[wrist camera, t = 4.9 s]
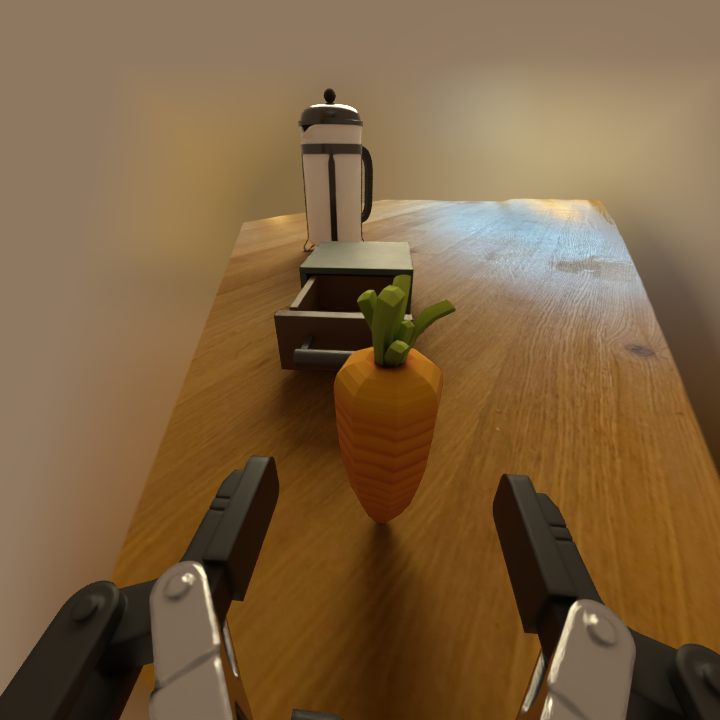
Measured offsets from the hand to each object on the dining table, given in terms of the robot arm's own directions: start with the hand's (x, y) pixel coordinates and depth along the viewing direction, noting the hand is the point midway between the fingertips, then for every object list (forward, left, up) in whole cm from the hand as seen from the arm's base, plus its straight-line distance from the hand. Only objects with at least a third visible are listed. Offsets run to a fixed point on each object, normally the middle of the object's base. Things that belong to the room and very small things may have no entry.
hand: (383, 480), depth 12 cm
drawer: (+5, +23, -8) cm, 25 cm away
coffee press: (+15, +73, -9) cm, 75 cm away
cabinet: (+10, +37, -9) cm, 40 cm away
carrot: (+2, +4, -9) cm, 10 cm away
